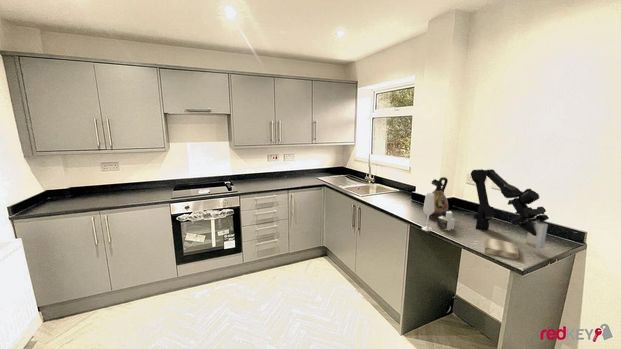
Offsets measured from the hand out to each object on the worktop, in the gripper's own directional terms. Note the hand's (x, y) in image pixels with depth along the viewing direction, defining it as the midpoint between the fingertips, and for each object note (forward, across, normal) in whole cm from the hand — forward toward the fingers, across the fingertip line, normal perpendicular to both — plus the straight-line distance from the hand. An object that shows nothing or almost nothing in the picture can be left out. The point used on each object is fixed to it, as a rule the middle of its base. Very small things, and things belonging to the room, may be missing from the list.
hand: (539, 235), depth 133 cm
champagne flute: (-21, -35, +37) cm, 55 cm away
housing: (+4, 0, +6) cm, 7 cm away
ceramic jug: (-36, -13, +51) cm, 64 cm away
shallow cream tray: (+3, -16, +12) cm, 20 cm away
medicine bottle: (-20, -23, +36) cm, 47 cm away
